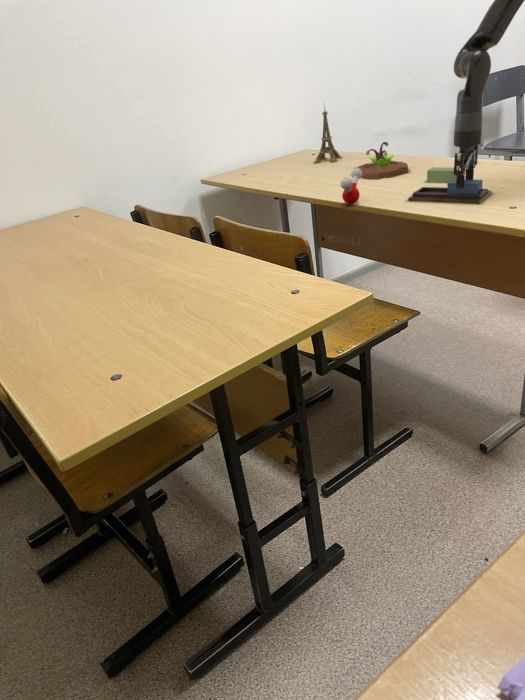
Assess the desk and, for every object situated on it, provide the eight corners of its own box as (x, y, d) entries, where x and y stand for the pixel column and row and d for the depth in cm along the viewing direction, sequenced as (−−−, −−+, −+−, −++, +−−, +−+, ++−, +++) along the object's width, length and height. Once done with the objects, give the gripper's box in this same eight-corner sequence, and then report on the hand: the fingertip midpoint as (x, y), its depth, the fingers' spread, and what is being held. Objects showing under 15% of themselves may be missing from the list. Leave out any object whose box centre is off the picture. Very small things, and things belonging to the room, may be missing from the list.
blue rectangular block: (481, 193, 163) (482, 179, 161) (476, 197, 159) (477, 183, 157) (452, 192, 168) (453, 179, 166) (446, 196, 164) (447, 183, 163)
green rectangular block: (457, 179, 185) (457, 167, 183) (452, 182, 182) (452, 170, 180) (432, 178, 190) (432, 167, 189) (426, 182, 187) (427, 170, 185)
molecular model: (357, 210, 166) (356, 178, 161) (338, 211, 168) (337, 179, 163) (363, 196, 181) (362, 166, 176) (346, 197, 182) (345, 167, 178)
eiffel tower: (341, 157, 249) (338, 99, 236) (336, 162, 240) (332, 101, 228) (320, 158, 253) (316, 101, 240) (313, 163, 244) (309, 104, 232)
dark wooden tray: (491, 193, 164) (492, 187, 163) (479, 204, 156) (479, 197, 155) (422, 191, 177) (422, 185, 176) (408, 201, 169) (408, 194, 168)
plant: (417, 171, 203) (418, 140, 198) (372, 181, 199) (371, 149, 193) (390, 164, 220) (390, 136, 215) (348, 173, 216) (346, 144, 210)
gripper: (473, 131, 147) (469, 190, 155) (488, 123, 157) (484, 179, 165) (446, 132, 152) (444, 190, 159) (463, 124, 161) (460, 178, 169)
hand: (464, 184), depth 162 cm, fingers open, 8 cm apart
